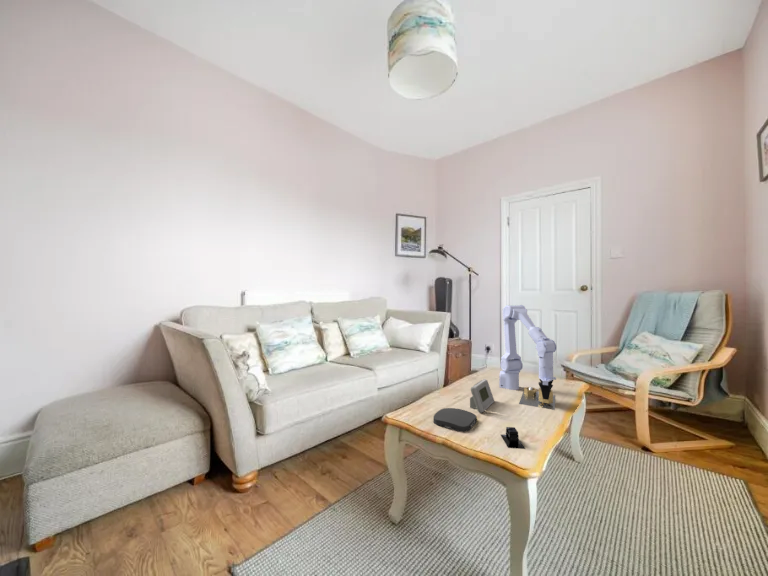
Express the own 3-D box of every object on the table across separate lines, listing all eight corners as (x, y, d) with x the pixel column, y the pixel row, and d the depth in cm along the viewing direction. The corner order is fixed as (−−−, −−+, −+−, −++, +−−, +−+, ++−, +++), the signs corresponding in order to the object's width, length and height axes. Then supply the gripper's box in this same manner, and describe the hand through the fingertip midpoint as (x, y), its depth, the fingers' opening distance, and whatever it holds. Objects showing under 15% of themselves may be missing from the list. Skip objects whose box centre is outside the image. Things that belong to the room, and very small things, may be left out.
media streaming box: (445, 411, 131) (445, 404, 131) (479, 420, 122) (479, 413, 122) (429, 424, 119) (430, 416, 119) (466, 434, 110) (466, 426, 110)
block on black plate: (496, 433, 111) (496, 421, 111) (517, 434, 111) (517, 422, 111) (506, 451, 99) (507, 437, 99) (530, 453, 98) (530, 438, 98)
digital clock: (481, 414, 127) (481, 389, 127) (462, 408, 134) (462, 384, 134) (500, 405, 137) (500, 381, 137) (482, 399, 144) (482, 377, 144)
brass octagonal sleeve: (538, 401, 136) (538, 390, 136) (539, 398, 141) (539, 387, 141) (552, 404, 133) (552, 392, 134) (553, 400, 138) (553, 389, 138)
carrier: (519, 405, 137) (519, 396, 137) (523, 392, 154) (523, 384, 154) (554, 411, 130) (554, 402, 130) (555, 397, 147) (555, 389, 147)
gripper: (556, 371, 129) (556, 403, 129) (556, 364, 142) (556, 393, 141) (537, 369, 132) (537, 400, 132) (539, 362, 145) (539, 391, 145)
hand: (545, 396), depth 137 cm, fingers closed on brass octagonal sleeve, 6 cm apart
